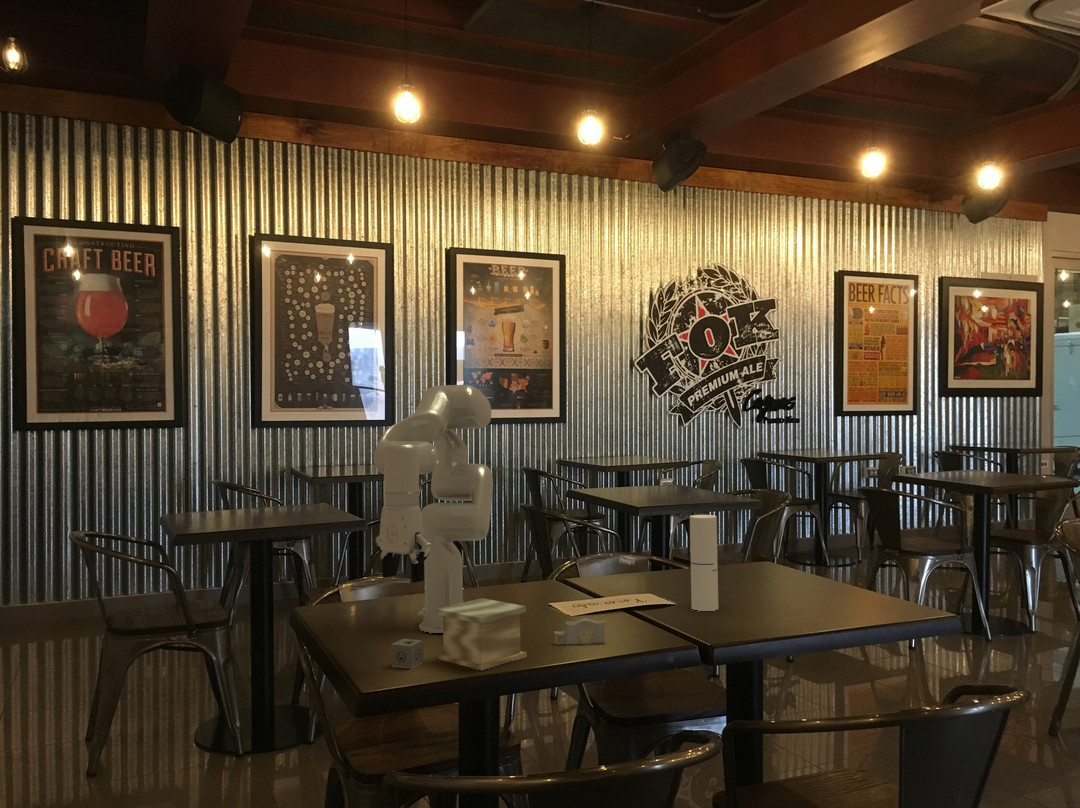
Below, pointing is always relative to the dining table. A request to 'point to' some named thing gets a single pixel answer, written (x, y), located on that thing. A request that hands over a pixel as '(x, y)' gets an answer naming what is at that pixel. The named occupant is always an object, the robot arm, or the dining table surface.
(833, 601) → the dining table surface
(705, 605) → the cylindrical container
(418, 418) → the robot arm
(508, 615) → the display pedestal
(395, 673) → the dining table surface
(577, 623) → the garden wall model
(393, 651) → the gray face cube
